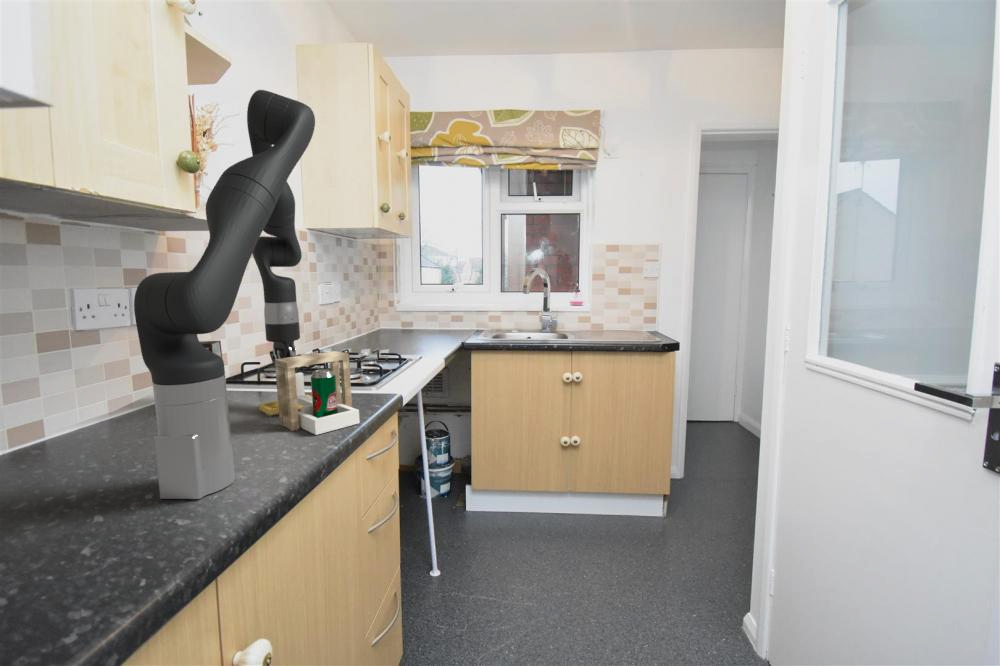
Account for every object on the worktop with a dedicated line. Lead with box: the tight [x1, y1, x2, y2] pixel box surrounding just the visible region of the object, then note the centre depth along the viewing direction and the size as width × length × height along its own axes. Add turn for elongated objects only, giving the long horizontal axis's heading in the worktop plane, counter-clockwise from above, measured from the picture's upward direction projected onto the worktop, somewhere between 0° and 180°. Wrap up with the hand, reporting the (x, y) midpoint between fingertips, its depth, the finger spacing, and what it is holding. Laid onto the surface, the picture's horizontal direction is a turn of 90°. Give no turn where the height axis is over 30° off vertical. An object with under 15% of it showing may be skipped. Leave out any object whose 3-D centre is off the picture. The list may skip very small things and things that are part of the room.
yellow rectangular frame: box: [258, 394, 312, 417], centre depth 115 cm, size 12×7×2 cm, turn 137°
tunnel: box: [274, 350, 353, 432], centre depth 104 cm, size 14×6×15 cm, turn 137°
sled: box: [295, 371, 361, 436], centre depth 105 cm, size 10×22×9 cm, turn 47°
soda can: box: [310, 368, 338, 418], centre depth 101 cm, size 5×5×12 cm
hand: (287, 390), depth 114 cm, fingers closed
